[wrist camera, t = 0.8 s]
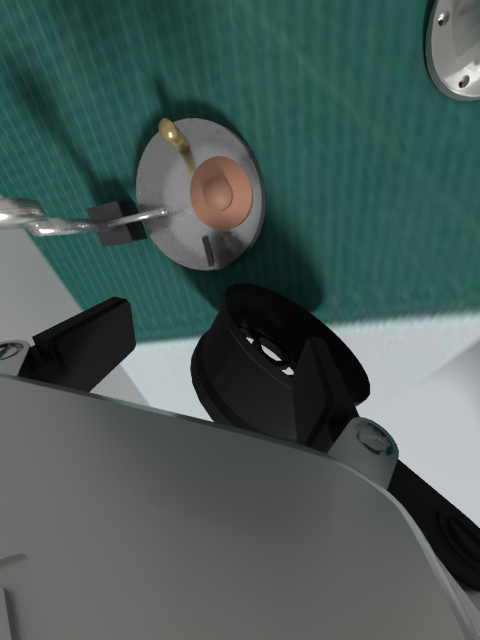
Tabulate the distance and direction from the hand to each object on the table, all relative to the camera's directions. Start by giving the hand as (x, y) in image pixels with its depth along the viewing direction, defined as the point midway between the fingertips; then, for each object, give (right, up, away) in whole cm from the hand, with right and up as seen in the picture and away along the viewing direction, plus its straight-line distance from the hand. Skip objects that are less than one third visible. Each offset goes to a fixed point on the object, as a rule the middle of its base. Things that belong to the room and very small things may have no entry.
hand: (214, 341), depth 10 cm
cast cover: (0, +17, +15) cm, 22 cm away
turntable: (-4, +17, +17) cm, 24 cm away
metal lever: (-13, +17, +20) cm, 29 cm away
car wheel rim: (+8, +1, +25) cm, 26 cm away
